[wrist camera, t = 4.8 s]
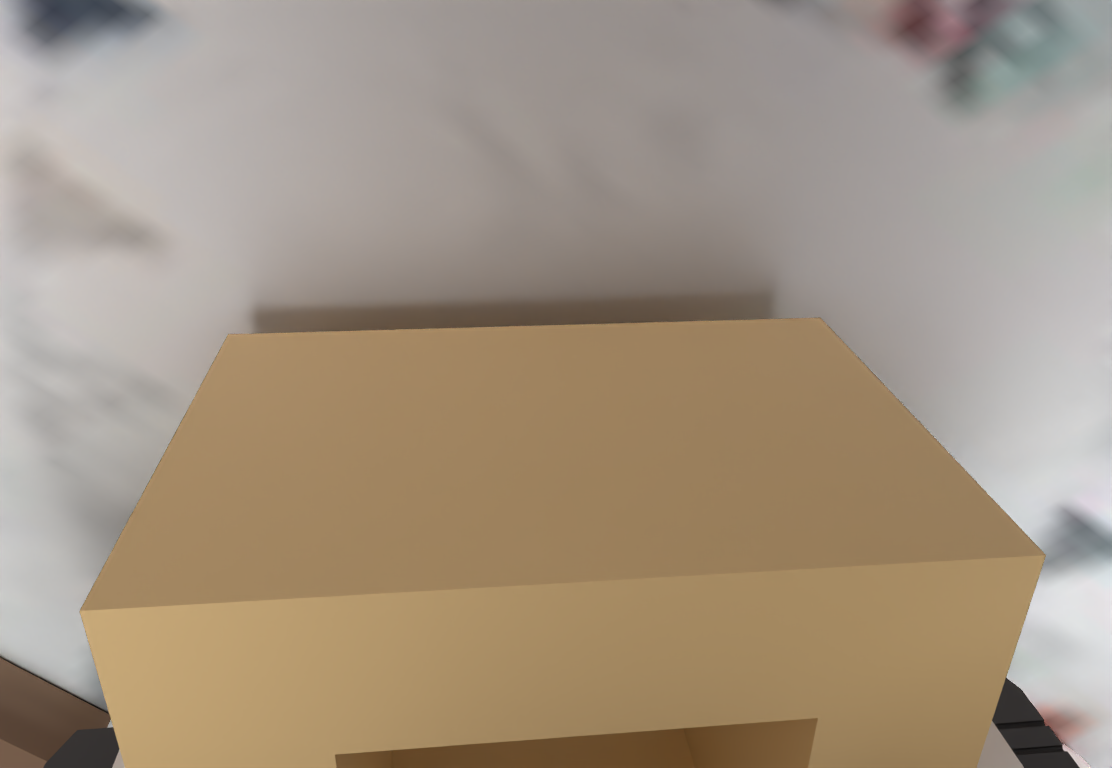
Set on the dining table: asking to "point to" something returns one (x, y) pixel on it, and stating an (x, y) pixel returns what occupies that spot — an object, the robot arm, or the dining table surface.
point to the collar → (557, 559)
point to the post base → (38, 718)
